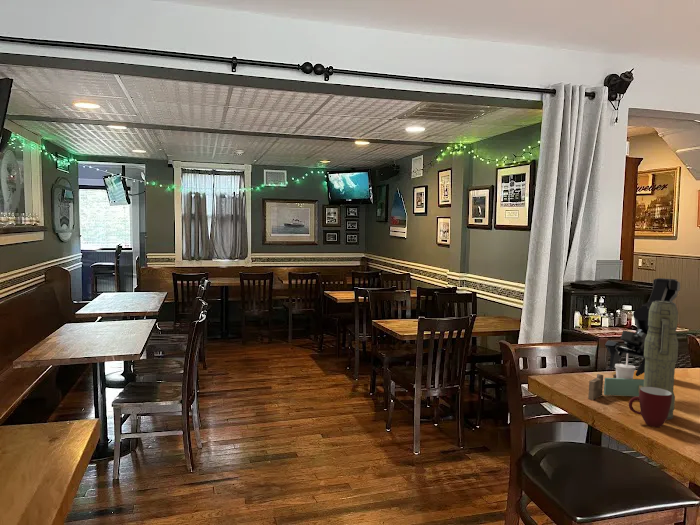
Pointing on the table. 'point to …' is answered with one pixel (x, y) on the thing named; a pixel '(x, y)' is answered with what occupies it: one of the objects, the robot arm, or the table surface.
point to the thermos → (661, 348)
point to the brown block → (596, 387)
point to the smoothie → (625, 370)
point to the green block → (622, 386)
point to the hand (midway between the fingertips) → (623, 371)
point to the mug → (653, 405)
